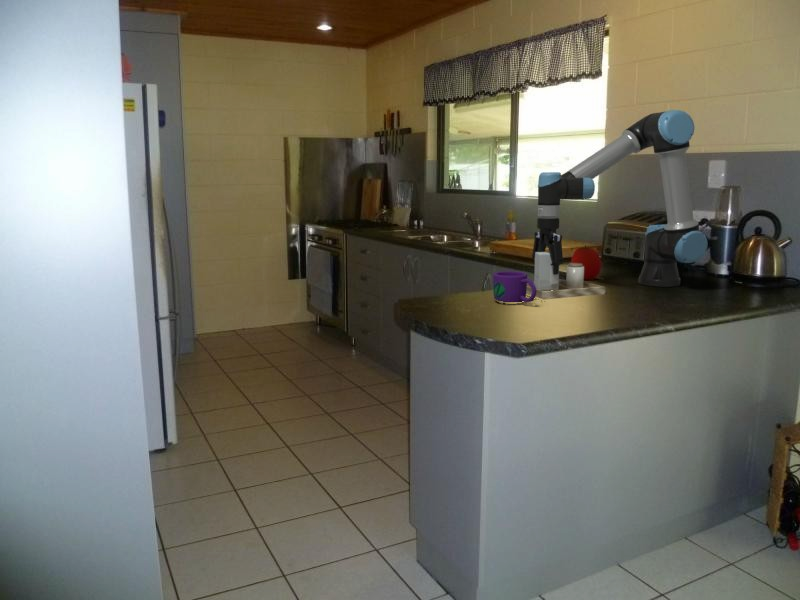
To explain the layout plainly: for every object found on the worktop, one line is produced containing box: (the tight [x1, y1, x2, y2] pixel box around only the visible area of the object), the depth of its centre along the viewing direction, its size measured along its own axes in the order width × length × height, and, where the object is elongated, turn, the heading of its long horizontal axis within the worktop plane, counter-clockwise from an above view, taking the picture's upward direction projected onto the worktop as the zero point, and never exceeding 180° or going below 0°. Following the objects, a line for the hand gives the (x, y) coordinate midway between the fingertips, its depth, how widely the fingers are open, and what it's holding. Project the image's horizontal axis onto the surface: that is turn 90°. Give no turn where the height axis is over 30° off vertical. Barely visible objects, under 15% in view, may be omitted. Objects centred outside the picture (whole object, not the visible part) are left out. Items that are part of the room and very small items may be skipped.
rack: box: [526, 279, 606, 301], centre depth 231 cm, size 25×18×4 cm
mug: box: [492, 270, 537, 303], centre depth 217 cm, size 17×11×10 cm, turn 36°
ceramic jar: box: [565, 262, 585, 289], centre depth 232 cm, size 6×6×10 cm
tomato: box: [570, 245, 602, 281], centre depth 258 cm, size 13×11×14 cm
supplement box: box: [533, 251, 560, 290], centre depth 228 cm, size 7×7×13 cm
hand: (546, 281), depth 228 cm, fingers closed on supplement box, 9 cm apart
